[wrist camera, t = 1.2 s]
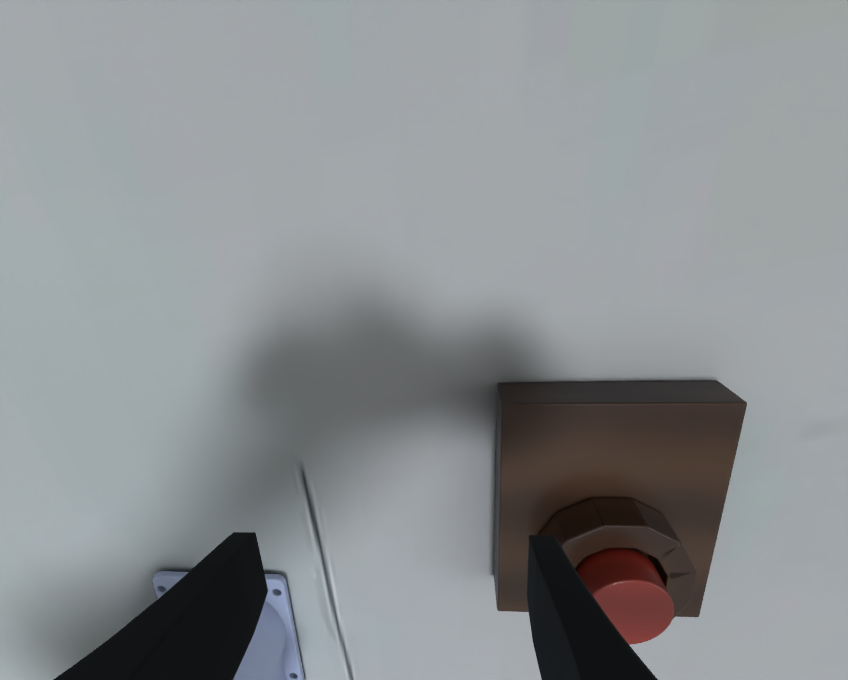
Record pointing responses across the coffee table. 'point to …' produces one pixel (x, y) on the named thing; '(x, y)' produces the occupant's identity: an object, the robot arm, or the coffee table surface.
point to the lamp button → (628, 592)
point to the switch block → (614, 477)
